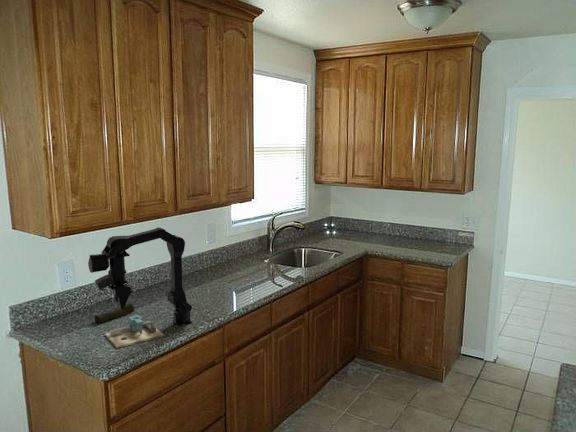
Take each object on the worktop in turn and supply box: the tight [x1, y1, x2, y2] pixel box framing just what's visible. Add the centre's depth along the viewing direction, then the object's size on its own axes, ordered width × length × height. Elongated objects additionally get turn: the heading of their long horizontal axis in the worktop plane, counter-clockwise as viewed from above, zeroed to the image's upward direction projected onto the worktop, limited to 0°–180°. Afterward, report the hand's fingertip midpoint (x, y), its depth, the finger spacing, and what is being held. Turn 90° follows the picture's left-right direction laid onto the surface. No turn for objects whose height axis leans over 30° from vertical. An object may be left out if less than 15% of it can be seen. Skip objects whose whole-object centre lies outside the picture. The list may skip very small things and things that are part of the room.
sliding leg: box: [128, 314, 144, 334], centre depth 190 cm, size 4×9×5 cm, turn 38°
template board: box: [104, 327, 164, 349], centre depth 187 cm, size 19×15×1 cm
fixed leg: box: [145, 322, 157, 333], centre depth 191 cm, size 2×6×4 cm, turn 38°
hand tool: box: [94, 303, 135, 325], centre depth 206 cm, size 19×4×5 cm, turn 140°
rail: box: [108, 320, 152, 337], centre depth 190 cm, size 17×2×2 cm, turn 128°
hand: (119, 305), depth 183 cm, fingers open, 9 cm apart
